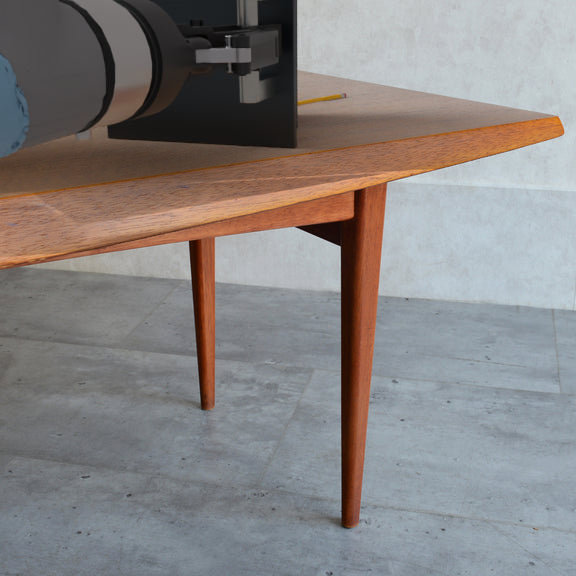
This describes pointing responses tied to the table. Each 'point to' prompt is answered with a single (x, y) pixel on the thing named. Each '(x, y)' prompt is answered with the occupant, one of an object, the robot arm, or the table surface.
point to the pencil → (321, 99)
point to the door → (229, 85)
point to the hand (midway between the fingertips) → (260, 40)
